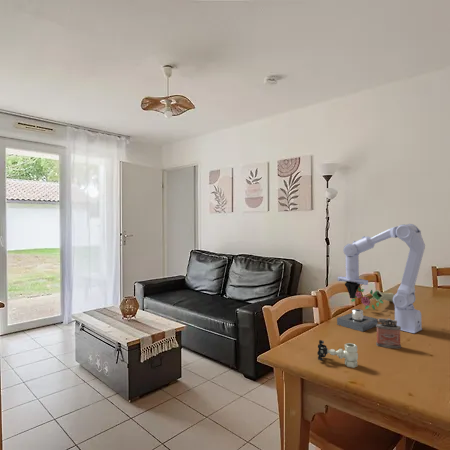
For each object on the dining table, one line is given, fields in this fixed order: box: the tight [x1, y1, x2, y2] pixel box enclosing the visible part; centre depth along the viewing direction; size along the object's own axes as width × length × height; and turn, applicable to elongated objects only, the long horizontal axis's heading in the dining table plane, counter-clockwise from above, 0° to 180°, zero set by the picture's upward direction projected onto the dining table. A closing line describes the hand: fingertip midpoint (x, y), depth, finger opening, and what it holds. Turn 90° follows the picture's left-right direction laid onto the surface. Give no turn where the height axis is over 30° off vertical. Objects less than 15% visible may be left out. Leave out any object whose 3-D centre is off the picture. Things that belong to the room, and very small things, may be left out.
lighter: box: [376, 318, 402, 349], centre depth 119 cm, size 8×3×10 cm, turn 71°
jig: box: [336, 312, 379, 333], centre depth 143 cm, size 12×12×3 cm
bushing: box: [351, 308, 364, 322], centre depth 141 cm, size 4×4×7 cm
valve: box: [317, 339, 359, 369], centre depth 106 cm, size 7×7×12 cm
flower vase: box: [350, 286, 396, 311], centre depth 171 cm, size 12×12×35 cm
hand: (352, 298), depth 153 cm, fingers closed
